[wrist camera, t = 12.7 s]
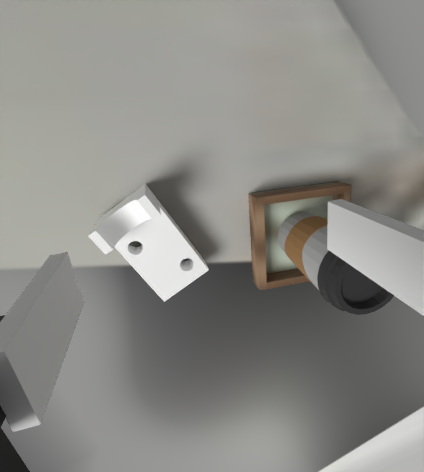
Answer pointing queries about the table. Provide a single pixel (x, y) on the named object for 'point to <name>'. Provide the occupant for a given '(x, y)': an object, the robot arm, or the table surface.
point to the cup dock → (271, 218)
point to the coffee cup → (328, 266)
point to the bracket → (150, 242)
